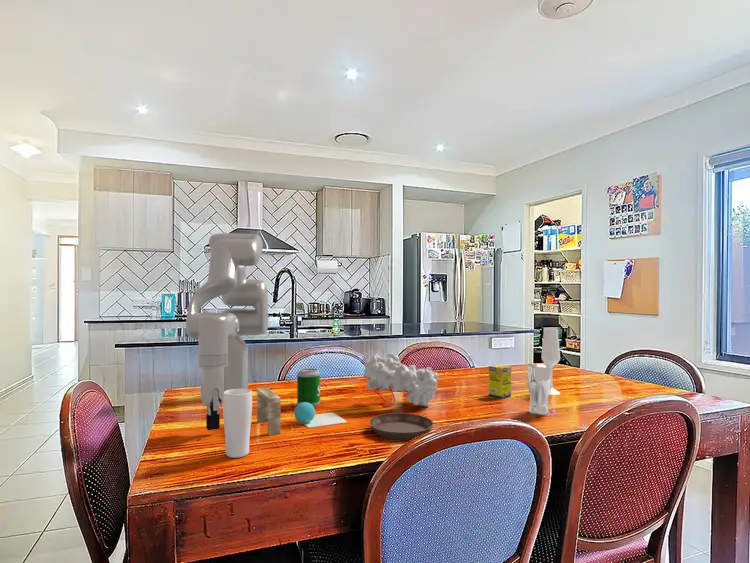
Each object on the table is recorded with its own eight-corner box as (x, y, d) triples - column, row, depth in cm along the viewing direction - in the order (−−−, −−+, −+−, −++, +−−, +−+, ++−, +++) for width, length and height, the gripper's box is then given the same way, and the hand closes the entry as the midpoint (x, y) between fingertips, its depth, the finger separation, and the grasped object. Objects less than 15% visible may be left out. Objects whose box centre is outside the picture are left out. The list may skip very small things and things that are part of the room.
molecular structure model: (394, 419, 172) (342, 385, 162) (417, 373, 178) (368, 337, 168) (428, 431, 155) (372, 394, 145) (452, 380, 161) (400, 341, 151)
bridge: (269, 435, 130) (269, 399, 130) (256, 421, 143) (257, 388, 143) (280, 433, 131) (280, 397, 131) (267, 419, 144) (267, 387, 145)
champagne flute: (563, 394, 178) (563, 329, 178) (544, 394, 178) (544, 329, 178) (556, 390, 185) (556, 328, 185) (538, 390, 185) (538, 327, 185)
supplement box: (502, 398, 171) (502, 368, 171) (488, 396, 176) (488, 365, 176) (511, 396, 175) (511, 366, 175) (497, 393, 180) (497, 364, 180)
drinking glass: (226, 450, 118) (226, 388, 118) (254, 449, 118) (254, 388, 118) (219, 460, 111) (219, 395, 111) (249, 459, 112) (249, 394, 112)
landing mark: (296, 417, 147) (296, 416, 147) (332, 413, 152) (332, 412, 152) (308, 428, 136) (308, 427, 136) (347, 422, 141) (347, 422, 141)
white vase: (550, 410, 155) (550, 364, 155) (550, 416, 149) (550, 367, 149) (527, 408, 158) (527, 362, 158) (527, 414, 151) (527, 366, 151)
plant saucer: (444, 439, 127) (444, 427, 127) (379, 445, 122) (379, 433, 122) (419, 421, 144) (419, 411, 144) (361, 426, 139) (361, 415, 139)
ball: (309, 397, 145) (315, 416, 145) (290, 405, 143) (296, 424, 143) (313, 400, 139) (319, 420, 139) (293, 408, 137) (300, 428, 137)
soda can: (315, 409, 157) (315, 372, 157) (293, 408, 158) (293, 371, 158) (322, 403, 164) (322, 368, 164) (301, 402, 166) (301, 367, 166)
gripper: (195, 358, 136) (195, 423, 135) (201, 366, 122) (201, 438, 122) (223, 356, 139) (222, 420, 139) (232, 363, 126) (232, 434, 125)
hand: (212, 428), depth 130 cm, fingers closed
